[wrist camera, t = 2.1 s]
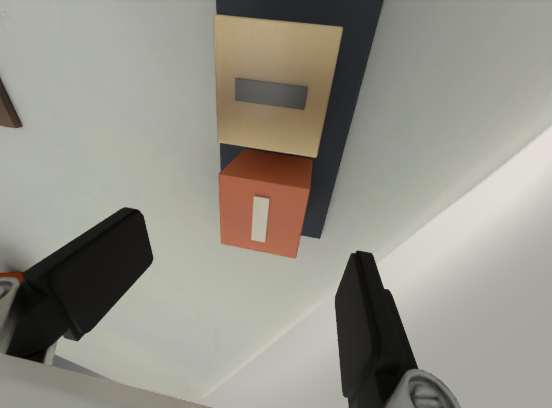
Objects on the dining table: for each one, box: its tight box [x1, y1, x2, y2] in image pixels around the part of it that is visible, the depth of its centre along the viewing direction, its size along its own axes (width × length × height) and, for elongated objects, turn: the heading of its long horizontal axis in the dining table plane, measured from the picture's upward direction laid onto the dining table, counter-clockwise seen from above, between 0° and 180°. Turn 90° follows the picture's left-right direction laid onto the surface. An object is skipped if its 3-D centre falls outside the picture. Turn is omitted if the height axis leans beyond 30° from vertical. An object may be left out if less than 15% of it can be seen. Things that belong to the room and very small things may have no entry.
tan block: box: [214, 14, 343, 158], centre depth 10 cm, size 4×4×5 cm
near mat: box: [216, 0, 383, 239], centre depth 13 cm, size 18×8×1 cm, turn 174°
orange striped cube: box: [219, 149, 313, 258], centre depth 13 cm, size 4×4×5 cm
